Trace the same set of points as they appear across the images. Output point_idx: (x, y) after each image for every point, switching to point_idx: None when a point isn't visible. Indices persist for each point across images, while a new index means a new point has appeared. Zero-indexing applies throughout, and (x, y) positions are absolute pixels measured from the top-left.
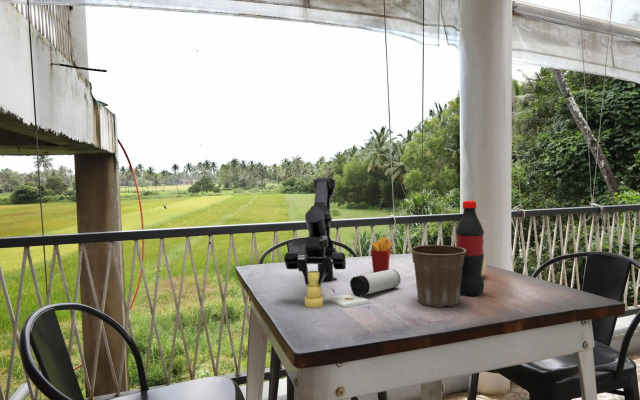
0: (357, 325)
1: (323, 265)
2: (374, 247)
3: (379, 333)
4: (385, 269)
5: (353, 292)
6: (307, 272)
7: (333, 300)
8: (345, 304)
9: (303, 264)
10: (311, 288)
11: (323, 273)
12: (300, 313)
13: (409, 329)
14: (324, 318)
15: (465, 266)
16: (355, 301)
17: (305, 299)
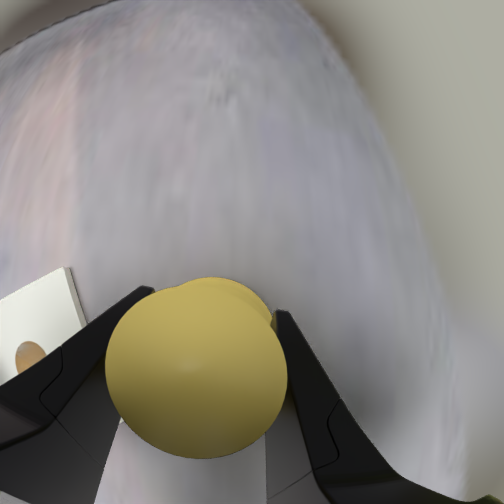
0: (93, 69)
1: (9, 416)
2: None
3: (72, 35)
4: None
5: None
6: (286, 372)
7: None
8: (54, 271)
9: (378, 497)
10: (229, 289)
11: (64, 342)
12: (290, 199)
13: (7, 68)
14: (181, 123)
15: None
16: (12, 313)
17: (270, 315)
